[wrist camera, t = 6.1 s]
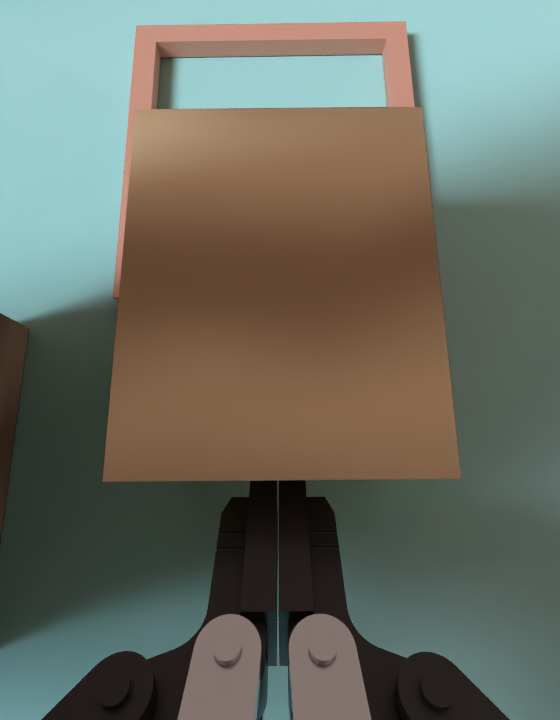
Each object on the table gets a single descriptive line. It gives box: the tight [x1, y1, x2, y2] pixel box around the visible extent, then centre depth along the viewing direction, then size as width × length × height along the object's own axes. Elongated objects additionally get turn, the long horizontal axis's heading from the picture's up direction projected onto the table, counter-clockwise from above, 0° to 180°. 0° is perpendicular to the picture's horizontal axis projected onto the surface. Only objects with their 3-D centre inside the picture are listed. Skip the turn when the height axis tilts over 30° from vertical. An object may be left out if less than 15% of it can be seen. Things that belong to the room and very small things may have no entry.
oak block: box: [102, 107, 461, 482], centre depth 14 cm, size 10×8×7 cm
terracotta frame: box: [113, 22, 415, 302], centre depth 19 cm, size 14×13×1 cm
